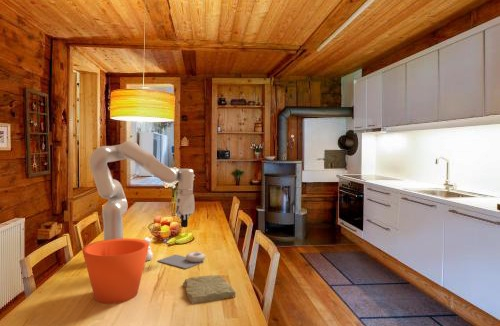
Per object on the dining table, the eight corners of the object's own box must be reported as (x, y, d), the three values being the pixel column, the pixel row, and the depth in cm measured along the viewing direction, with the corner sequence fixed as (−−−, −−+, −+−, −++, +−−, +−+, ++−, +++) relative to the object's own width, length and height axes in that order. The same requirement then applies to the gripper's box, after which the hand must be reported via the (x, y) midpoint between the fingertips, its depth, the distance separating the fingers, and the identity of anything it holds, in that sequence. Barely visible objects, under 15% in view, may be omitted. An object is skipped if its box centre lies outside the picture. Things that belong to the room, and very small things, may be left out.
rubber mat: (185, 269, 173) (185, 268, 173) (157, 261, 184) (157, 260, 183) (203, 262, 184) (203, 261, 184) (175, 255, 194) (175, 254, 194)
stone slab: (220, 280, 160) (220, 272, 160) (236, 298, 142) (236, 289, 142) (179, 286, 153) (179, 278, 153) (190, 305, 134) (190, 296, 134)
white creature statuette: (146, 255, 193) (146, 234, 193) (158, 258, 189) (158, 236, 189) (132, 260, 185) (133, 237, 184) (145, 263, 181) (145, 240, 180)
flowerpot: (160, 294, 143) (161, 246, 142) (100, 315, 124) (100, 260, 123) (129, 278, 160) (129, 235, 159) (71, 295, 141) (71, 246, 140)
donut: (183, 259, 187) (189, 264, 178) (183, 252, 187) (189, 257, 178) (200, 256, 192) (208, 261, 183) (200, 250, 192) (208, 254, 183)
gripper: (180, 194, 177) (179, 230, 177) (200, 191, 189) (198, 225, 190) (170, 192, 181) (168, 228, 181) (190, 190, 193) (188, 223, 194)
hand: (184, 226), depth 186 cm, fingers closed
